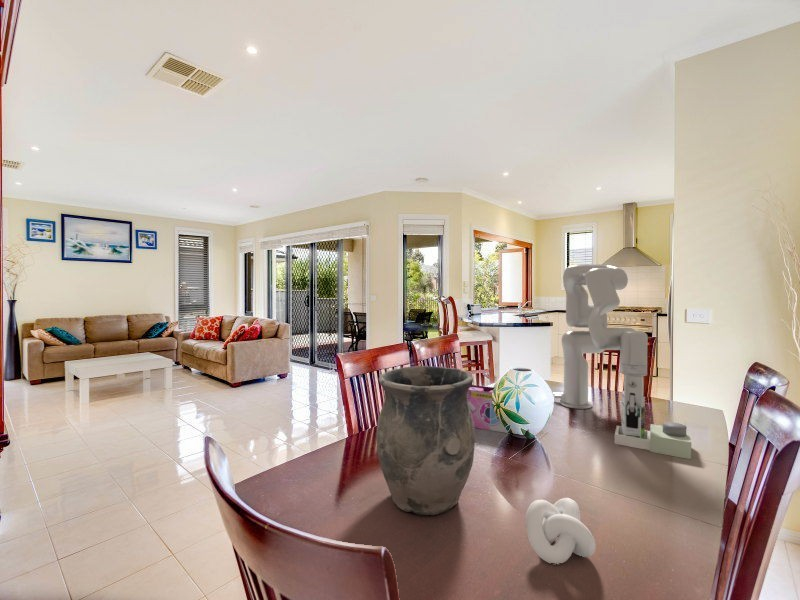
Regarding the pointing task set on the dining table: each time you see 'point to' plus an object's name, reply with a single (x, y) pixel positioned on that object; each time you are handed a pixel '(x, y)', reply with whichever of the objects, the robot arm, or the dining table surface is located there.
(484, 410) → the pink product box
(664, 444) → the knob block with frame
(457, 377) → the clay pot
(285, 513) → the dining table surface
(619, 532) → the dining table surface
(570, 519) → the white knot sculpture
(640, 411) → the syrup box
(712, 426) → the dining table surface
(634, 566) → the dining table surface
